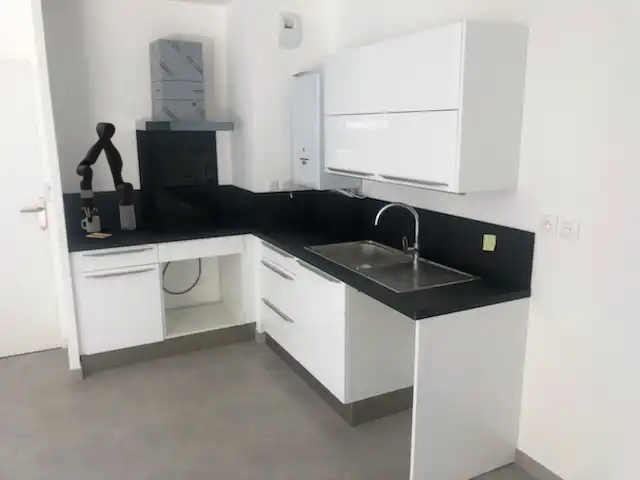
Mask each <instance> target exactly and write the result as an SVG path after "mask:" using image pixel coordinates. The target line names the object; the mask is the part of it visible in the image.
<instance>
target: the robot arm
mask: <svg viewBox="0 0 640 480" xmlns="http://www.w3.org/2000/svg"><path fill="white" fill-rule="evenodd" d="M95 130H96V131H95V132H96V134H97V137H98V140H97V141H96V142H94V144H93V145H91V146H90V147H89V149H88V150H87V152H86V154H85V157H84V158H83V159H82V160H81V161H80V162H79V163H78V165H77V166H76V170H75V171H76V175H78V176H79V177H82V180H81V181H79V187H80V188H79V189H80V199H81V206H82V207H80V208H79V211H80V212H81V214H82V215H83V216H84V217H87V220H88V223H92V222H93V218H92V217H93V216H96V215H97V213H98V211H99V209H98V208H96V207H95V195H94V191H93V178H94V177H93V176H94V171H93V169H92V166H93V165H95V164H96V163H97V161H98V159H99V157H100V156H101V153H102V152H103V151H104V154H105V157H106V161H107V165H108V167H109V170H110V173H111V177H112V181H113V184H114V185H113V186H114V189H115V192H116V194H118V195H119V196H122V197H123V198H122V200H119V201H118V205H119V216H120V226H121V230H124V231H125V230H126V231H128V230H129V231H133V230H136V228H137V224H136V223H137V222H136V215H135V210H134V209H135V207H134V201H135V189H134V185H133V183H131V182H129V181H128V182H127V181H124V179H123V175H122V172H123V167H124V163H123V162H124V161H123V159H122V156H121V153H120V151H119V150H118V148H117V147H116V146H115V145H114V143H113V141H112V140H111V139H112V138H113V136H114V135H115V134H116V127H115V125H114V124H113V123H111V122H105V121H104V122H98V123H97V124H96V125H95Z"/></svg>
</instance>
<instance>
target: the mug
mask: <svg viewBox="0 0 640 480" xmlns="http://www.w3.org/2000/svg"><path fill="white" fill-rule="evenodd" d="M92 218H93V222H92V223H88V220H87V216H85V219H84V218H83V219H82V220H81V221H80V223H81V228H82V229H83V230H86V232H87V233H99V232H101V221H100V217H99V216H98V215H95V216H93V217H92ZM84 222H85V223H86V224H85V225H86V226H84Z"/></svg>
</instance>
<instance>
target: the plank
mask: <svg viewBox="0 0 640 480" xmlns="http://www.w3.org/2000/svg"><path fill="white" fill-rule="evenodd" d="M103 234H104V233H101V232H92V233H90V234H87V235H85V237H86V238H87V237H88V238H98V237H97V236H100V235H103Z"/></svg>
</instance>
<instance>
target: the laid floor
mask: <svg viewBox="0 0 640 480" xmlns="http://www.w3.org/2000/svg"><path fill="white" fill-rule="evenodd" d="M102 234H103V235H100V236H97V237H96V238H101V239H105V238H107V237H109V236H112V235H113V234H112V233H111V234H110V233H102Z"/></svg>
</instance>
